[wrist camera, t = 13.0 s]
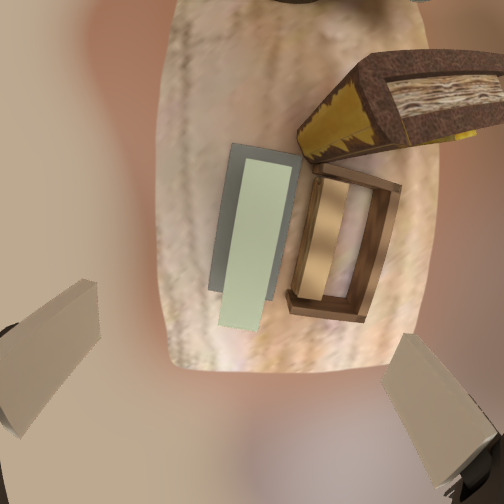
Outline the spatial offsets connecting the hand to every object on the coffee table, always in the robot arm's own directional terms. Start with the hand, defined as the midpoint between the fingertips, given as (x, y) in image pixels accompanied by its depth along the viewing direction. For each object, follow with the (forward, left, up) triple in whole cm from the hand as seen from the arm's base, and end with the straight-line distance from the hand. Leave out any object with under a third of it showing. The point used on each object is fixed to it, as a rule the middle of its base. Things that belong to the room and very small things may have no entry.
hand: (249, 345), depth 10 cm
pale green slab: (0, 0, -30) cm, 30 cm away
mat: (0, 0, -31) cm, 31 cm away
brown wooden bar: (0, +9, -31) cm, 32 cm away
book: (-18, +14, -31) cm, 38 cm away
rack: (0, +13, -31) cm, 33 cm away
